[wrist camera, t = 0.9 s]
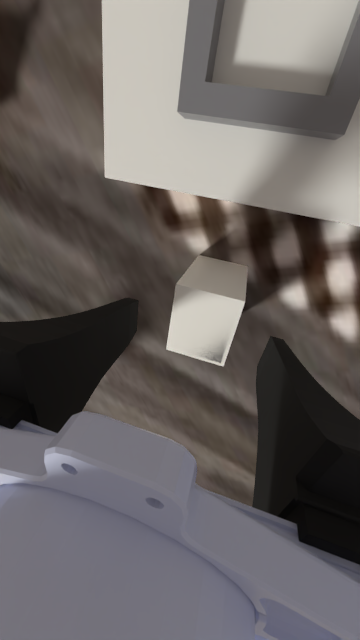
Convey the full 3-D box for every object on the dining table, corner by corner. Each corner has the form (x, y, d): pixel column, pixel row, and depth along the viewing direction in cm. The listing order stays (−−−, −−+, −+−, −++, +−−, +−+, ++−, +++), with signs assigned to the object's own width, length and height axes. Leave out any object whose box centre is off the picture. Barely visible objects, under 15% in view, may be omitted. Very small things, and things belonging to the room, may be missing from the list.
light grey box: (248, 266, 17) (245, 301, 12) (231, 318, 19) (223, 366, 14) (199, 255, 17) (176, 283, 12) (188, 306, 20) (166, 349, 14)
